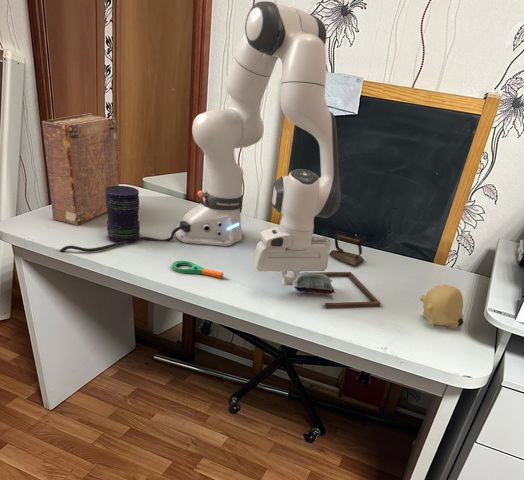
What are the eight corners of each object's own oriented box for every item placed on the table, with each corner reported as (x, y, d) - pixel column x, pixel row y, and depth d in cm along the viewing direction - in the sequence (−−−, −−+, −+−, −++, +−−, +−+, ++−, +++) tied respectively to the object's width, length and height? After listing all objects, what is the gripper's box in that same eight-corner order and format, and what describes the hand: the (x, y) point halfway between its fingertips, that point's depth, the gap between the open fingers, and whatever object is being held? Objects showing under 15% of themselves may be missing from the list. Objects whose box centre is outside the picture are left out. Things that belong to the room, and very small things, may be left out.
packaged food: (290, 281, 144) (293, 265, 141) (331, 285, 145) (334, 270, 142) (292, 295, 136) (295, 279, 134) (335, 299, 137) (338, 283, 135)
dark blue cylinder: (129, 246, 152) (127, 197, 144) (101, 239, 154) (98, 190, 146) (145, 236, 160) (145, 190, 152) (119, 230, 162) (117, 183, 154)
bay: (325, 308, 132) (326, 304, 132) (300, 275, 148) (301, 272, 148) (380, 306, 137) (380, 303, 136) (349, 274, 153) (350, 271, 152)
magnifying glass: (168, 269, 141) (168, 264, 140) (178, 262, 146) (178, 257, 145) (217, 282, 138) (218, 276, 137) (226, 274, 143) (226, 269, 142)
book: (98, 201, 184) (92, 112, 168) (120, 206, 182) (116, 117, 166) (52, 219, 163) (41, 120, 147) (77, 225, 161) (68, 126, 145)
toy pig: (440, 343, 131) (479, 322, 127) (421, 311, 125) (461, 289, 121) (429, 323, 139) (465, 303, 135) (410, 292, 133) (447, 271, 130)
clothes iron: (356, 269, 158) (355, 239, 153) (325, 266, 164) (322, 237, 159) (365, 261, 163) (364, 231, 158) (334, 258, 169) (332, 230, 164)
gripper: (327, 232, 135) (318, 279, 142) (254, 231, 129) (249, 280, 136) (336, 241, 130) (326, 289, 137) (261, 240, 124) (255, 290, 131)
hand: (287, 284), depth 137 cm, fingers closed
